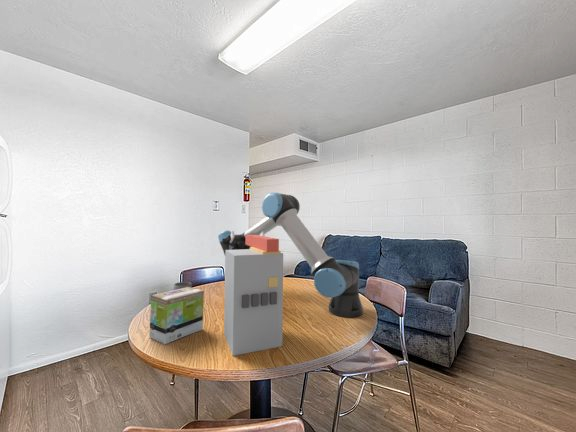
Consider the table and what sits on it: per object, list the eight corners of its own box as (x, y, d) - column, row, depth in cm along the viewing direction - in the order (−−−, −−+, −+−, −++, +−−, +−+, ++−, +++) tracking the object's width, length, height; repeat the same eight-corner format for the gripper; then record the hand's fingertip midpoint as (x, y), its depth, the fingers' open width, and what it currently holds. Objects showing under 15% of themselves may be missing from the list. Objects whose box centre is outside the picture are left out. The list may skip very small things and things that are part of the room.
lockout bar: (245, 244, 106) (245, 234, 106) (254, 244, 108) (254, 234, 108) (266, 252, 81) (267, 239, 81) (278, 251, 82) (278, 239, 82)
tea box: (166, 345, 83) (167, 299, 83) (148, 338, 88) (149, 294, 88) (203, 329, 95) (204, 289, 96) (186, 323, 101) (187, 285, 101)
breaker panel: (224, 334, 91) (225, 250, 92) (266, 327, 98) (267, 248, 98) (233, 357, 76) (235, 256, 76) (283, 347, 82) (284, 253, 83)
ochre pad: (249, 249, 96) (249, 247, 96) (265, 248, 98) (265, 246, 98) (262, 254, 81) (262, 251, 81) (280, 253, 83) (280, 251, 83)
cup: (195, 305, 122) (195, 284, 122) (173, 309, 117) (174, 287, 117) (190, 300, 130) (190, 280, 130) (170, 303, 124) (170, 283, 125)
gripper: (262, 257, 133) (276, 241, 116) (212, 259, 123) (220, 242, 106) (260, 244, 136) (273, 226, 119) (212, 245, 126) (219, 226, 109)
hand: (248, 234), depth 113 cm, fingers open, 13 cm apart
